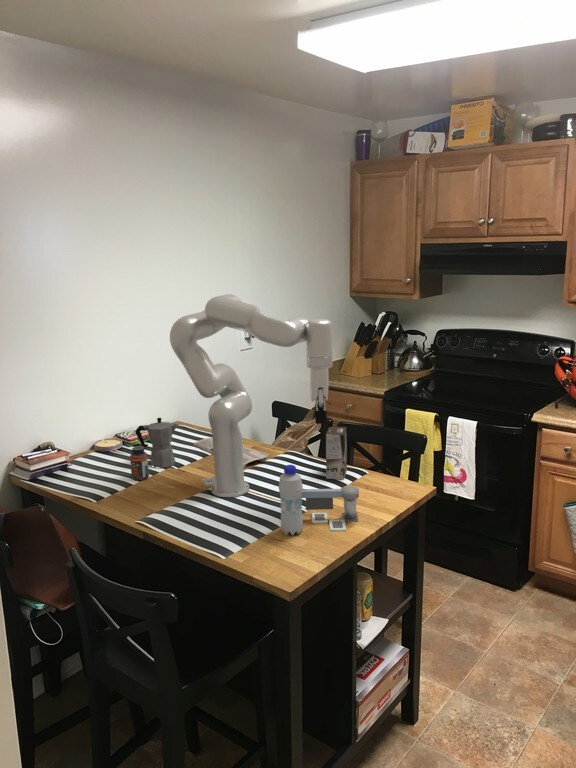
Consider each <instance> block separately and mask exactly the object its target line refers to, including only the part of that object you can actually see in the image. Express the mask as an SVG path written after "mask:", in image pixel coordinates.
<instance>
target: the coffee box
mask: <svg viewBox="0 0 576 768" xmlns="http://www.w3.org/2000/svg"><path fill="white" fill-rule="evenodd" d="M326 431H327V432H326V434H325V460H326V461H325V463H326V464H325V466H326V467H325V468H326V469H325V470H326V471H325V473H326V475H325V478H326V479H327V480H328V479H329V480H331V479H332V480H345V477H346V473H347V471H348V468H347V467H348V465H347V463H348V458H347V457H348V454H347V453H348V452H347V451H348V449H347V448H348V447H347V442H348V441H347V440H348V439H347V433H348V432H347V427H345V426H328V429H327V430H326Z"/></svg>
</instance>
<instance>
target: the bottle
mask: <svg viewBox="0 0 576 768" xmlns="http://www.w3.org/2000/svg"><path fill="white" fill-rule="evenodd" d="M302 489H304V488H303V482H302V476H301V475H300V474H299V473H297V467H296V465H294V464H288V465H287V464H286V465H285V466H284V468H283V474H281V475H280V476H279V482H278V490H279V491H278V493H279V494H280V529H281V531H282V532H283V533H284V534H285V535H287V536H288V535H289V533H290V534H291V536H294V535H295V534H297V535H299V534H300V533H301V532H302V530H303V528H304V525H303V524H304V521H303V508H302V507H303V506H302V499H303V498H301V494H302V491H303V490H302Z"/></svg>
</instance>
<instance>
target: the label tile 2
mask: <svg viewBox="0 0 576 768" xmlns="http://www.w3.org/2000/svg"><path fill="white" fill-rule="evenodd" d="M328 523H329V532H346V531H347V526H346V521H345V520H343V519H329V520H328Z"/></svg>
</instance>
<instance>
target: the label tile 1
mask: <svg viewBox="0 0 576 768" xmlns="http://www.w3.org/2000/svg"><path fill="white" fill-rule="evenodd" d="M328 523H329V520H328V513H327V512H311V524H328Z"/></svg>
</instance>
